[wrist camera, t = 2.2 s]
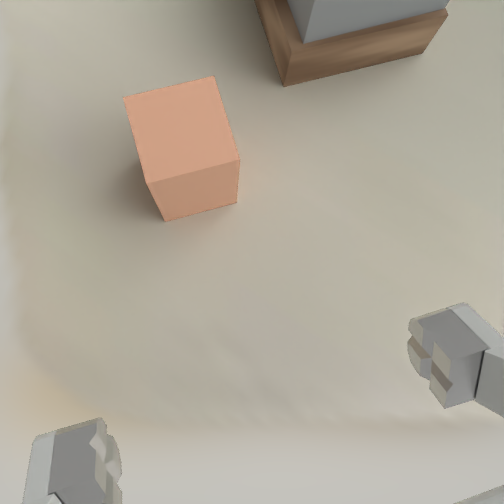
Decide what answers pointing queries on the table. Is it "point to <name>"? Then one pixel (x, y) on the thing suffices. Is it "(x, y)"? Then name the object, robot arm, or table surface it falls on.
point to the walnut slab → (341, 43)
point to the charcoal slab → (353, 15)
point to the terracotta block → (185, 147)
